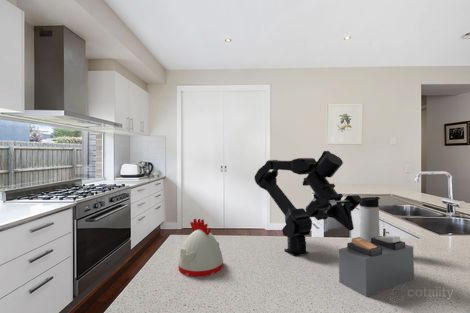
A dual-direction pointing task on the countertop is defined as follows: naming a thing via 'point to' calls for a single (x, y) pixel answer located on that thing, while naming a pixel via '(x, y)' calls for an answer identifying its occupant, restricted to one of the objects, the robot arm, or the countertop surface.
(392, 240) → the white rocker
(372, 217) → the travel mug
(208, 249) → the kitchen timer
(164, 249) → the countertop surface
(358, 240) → the orange rocker
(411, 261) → the switch box
